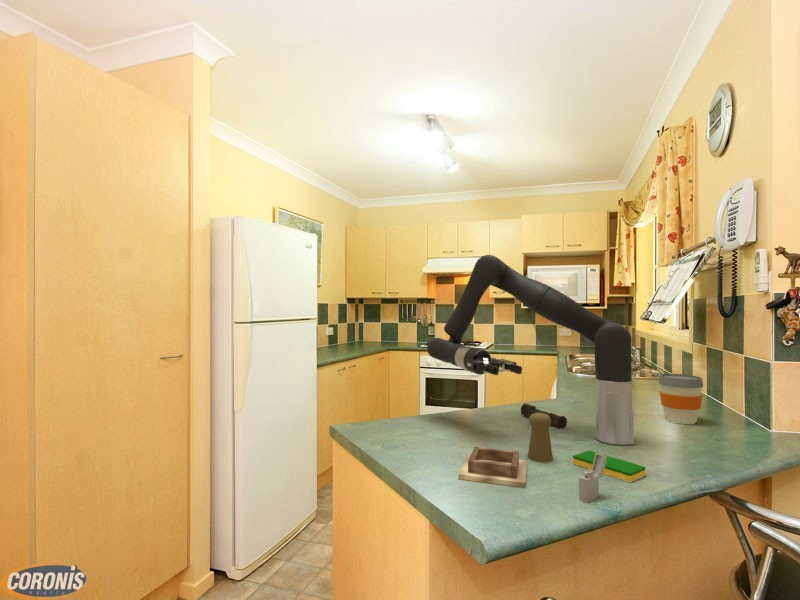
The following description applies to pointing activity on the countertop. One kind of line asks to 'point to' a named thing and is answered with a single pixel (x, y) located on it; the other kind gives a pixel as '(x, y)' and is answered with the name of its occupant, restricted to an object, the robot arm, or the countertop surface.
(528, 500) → the countertop surface
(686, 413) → the reusable coffee cup
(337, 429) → the countertop surface
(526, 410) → the hand tool
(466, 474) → the shaker stand
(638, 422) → the countertop surface
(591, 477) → the lighter
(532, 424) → the cork
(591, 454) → the dish sponge
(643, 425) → the countertop surface
